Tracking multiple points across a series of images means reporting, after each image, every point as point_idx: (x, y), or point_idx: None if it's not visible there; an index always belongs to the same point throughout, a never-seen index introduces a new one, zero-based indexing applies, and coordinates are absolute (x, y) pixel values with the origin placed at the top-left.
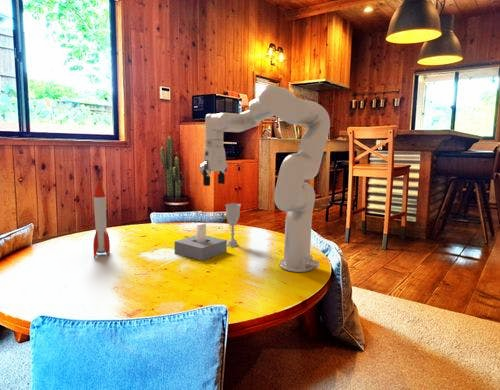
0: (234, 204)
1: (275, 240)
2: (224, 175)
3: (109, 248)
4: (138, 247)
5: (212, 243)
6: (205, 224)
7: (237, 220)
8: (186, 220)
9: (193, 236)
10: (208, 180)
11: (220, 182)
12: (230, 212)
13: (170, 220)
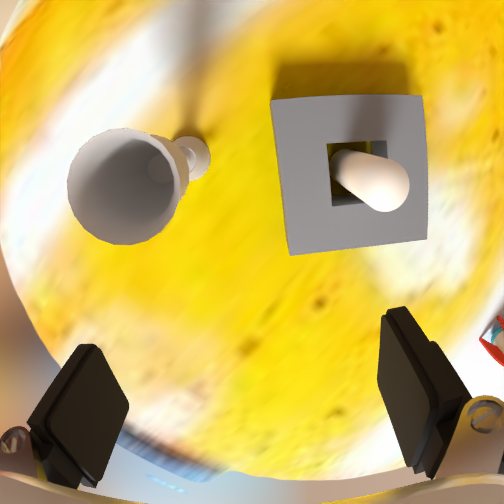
0: (86, 219)
1: (38, 111)
2: (34, 414)
3: (484, 343)
4: None
5: (353, 107)
6: (377, 161)
7: (144, 144)
8: (143, 448)
9: (335, 245)
10: (430, 360)
11: (112, 387)
12: (176, 157)
13: (180, 467)
